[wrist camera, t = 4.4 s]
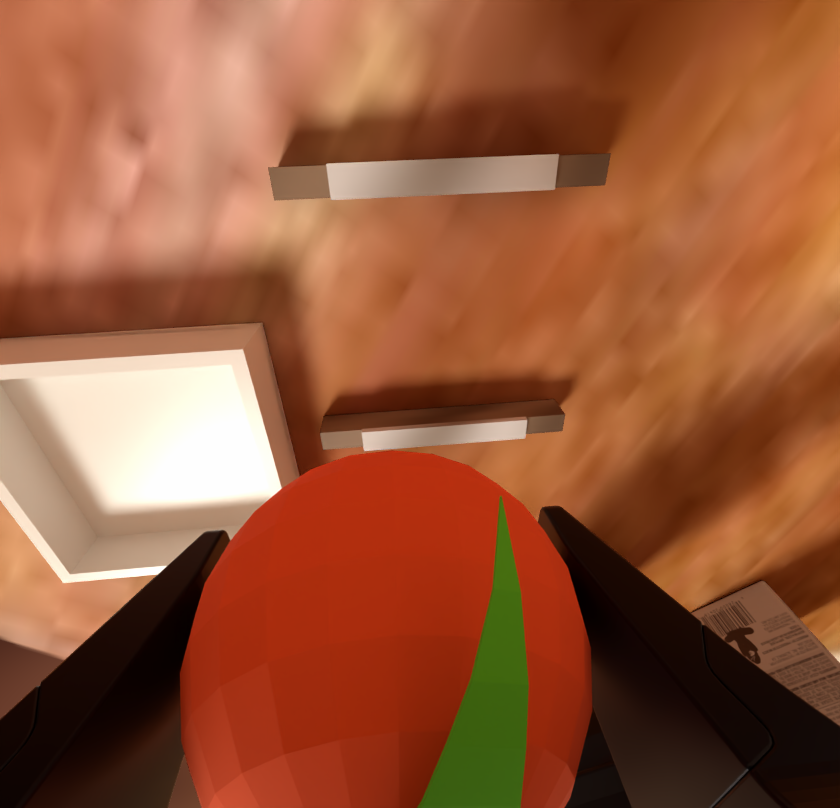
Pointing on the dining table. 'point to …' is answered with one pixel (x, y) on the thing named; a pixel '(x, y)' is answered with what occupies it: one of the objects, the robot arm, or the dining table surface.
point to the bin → (138, 442)
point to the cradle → (427, 181)
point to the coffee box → (777, 644)
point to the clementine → (387, 648)
